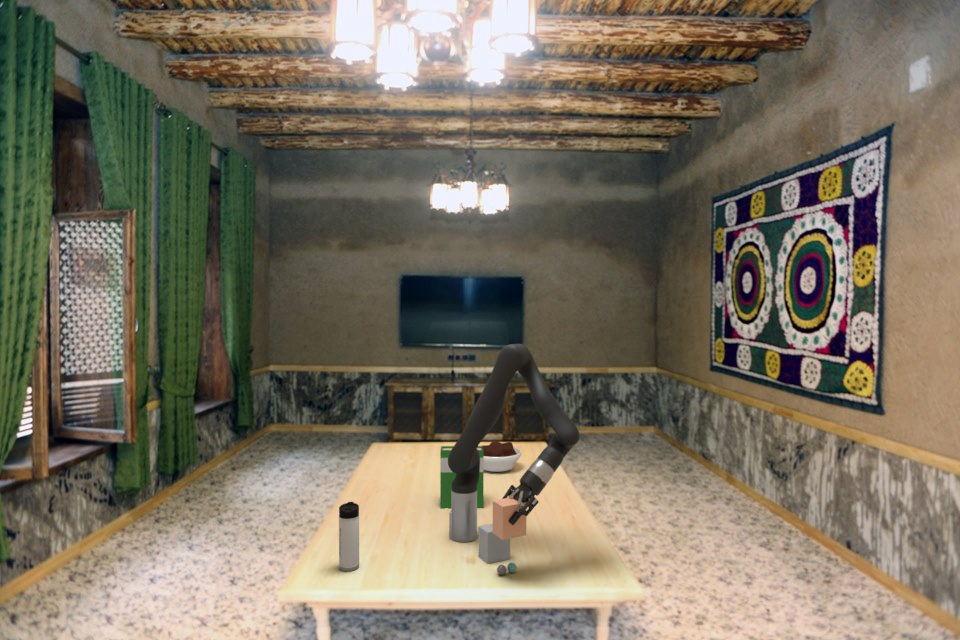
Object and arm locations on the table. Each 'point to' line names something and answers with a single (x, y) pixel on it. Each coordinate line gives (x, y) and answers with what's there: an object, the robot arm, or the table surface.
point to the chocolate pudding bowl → (500, 456)
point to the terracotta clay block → (501, 516)
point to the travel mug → (349, 536)
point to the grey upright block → (492, 545)
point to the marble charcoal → (501, 569)
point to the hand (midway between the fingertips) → (504, 519)
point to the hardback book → (449, 476)
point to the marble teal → (511, 567)
